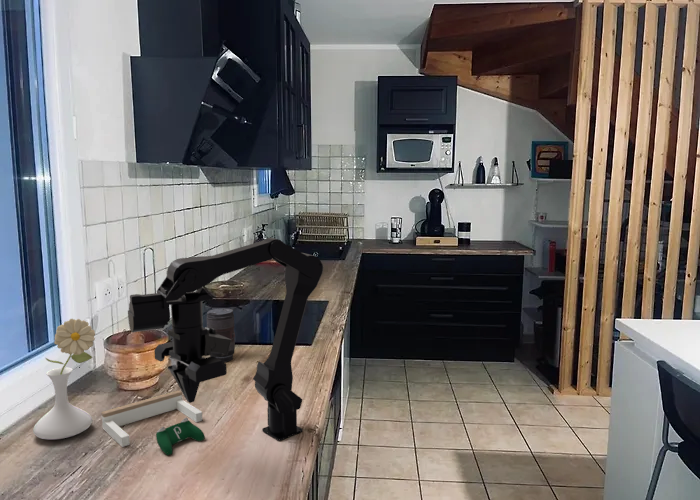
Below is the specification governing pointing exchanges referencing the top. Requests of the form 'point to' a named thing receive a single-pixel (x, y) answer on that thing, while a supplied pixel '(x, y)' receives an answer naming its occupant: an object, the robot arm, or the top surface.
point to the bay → (145, 413)
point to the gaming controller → (177, 435)
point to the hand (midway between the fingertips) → (190, 401)
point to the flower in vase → (64, 415)
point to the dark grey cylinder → (222, 329)
